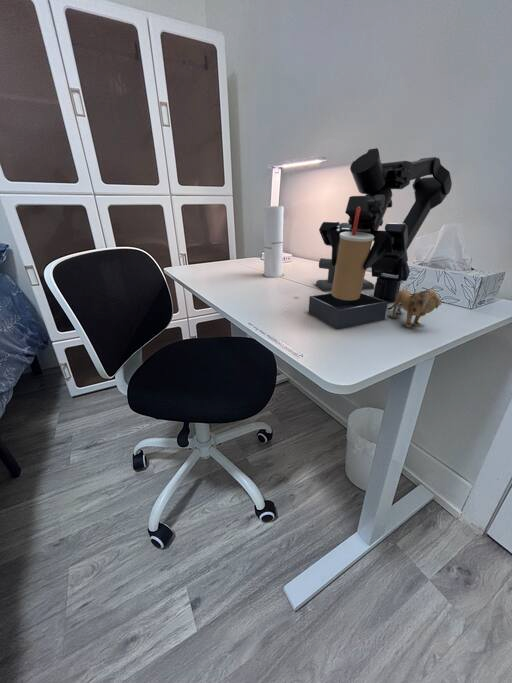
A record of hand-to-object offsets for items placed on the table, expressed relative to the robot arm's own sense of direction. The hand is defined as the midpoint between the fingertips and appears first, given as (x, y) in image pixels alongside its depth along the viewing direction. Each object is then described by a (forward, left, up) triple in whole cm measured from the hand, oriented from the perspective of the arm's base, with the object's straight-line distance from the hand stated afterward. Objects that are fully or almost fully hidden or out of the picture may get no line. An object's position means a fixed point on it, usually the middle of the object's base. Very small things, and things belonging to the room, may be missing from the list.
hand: (347, 266), depth 64 cm
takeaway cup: (-2, -1, -7) cm, 7 cm away
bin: (-4, -4, -13) cm, 14 cm away
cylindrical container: (-8, -53, -14) cm, 55 cm away
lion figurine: (-15, +6, -14) cm, 21 cm away
